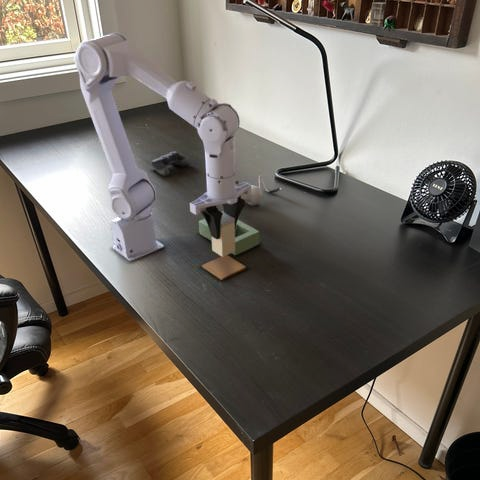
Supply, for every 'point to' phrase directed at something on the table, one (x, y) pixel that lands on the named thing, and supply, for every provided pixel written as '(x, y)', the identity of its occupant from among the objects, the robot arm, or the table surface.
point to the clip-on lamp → (256, 193)
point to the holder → (236, 235)
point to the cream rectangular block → (225, 236)
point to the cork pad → (223, 267)
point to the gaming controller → (168, 162)
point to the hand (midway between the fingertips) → (222, 234)
